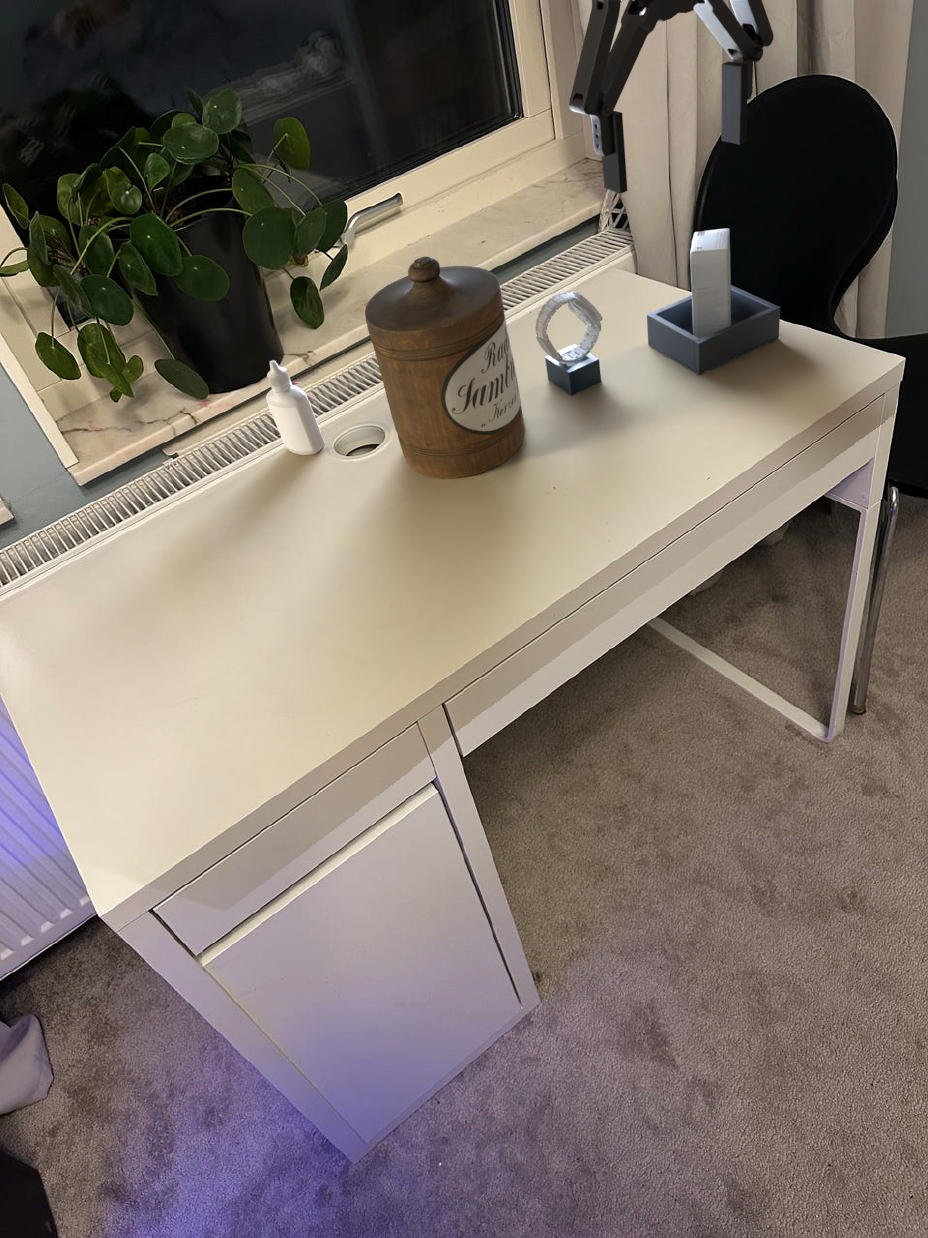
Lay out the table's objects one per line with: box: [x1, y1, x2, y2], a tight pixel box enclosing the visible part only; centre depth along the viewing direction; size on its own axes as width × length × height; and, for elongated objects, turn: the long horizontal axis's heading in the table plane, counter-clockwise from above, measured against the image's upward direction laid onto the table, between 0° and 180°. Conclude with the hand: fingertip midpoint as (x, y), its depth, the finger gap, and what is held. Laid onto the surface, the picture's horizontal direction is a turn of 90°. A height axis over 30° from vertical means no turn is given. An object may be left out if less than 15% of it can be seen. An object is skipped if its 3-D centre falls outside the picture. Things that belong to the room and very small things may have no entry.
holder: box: [646, 284, 781, 376], centre depth 104 cm, size 11×12×4 cm
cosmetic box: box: [689, 228, 732, 339], centre depth 101 cm, size 6×4×12 cm
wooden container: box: [364, 256, 526, 479], centre depth 93 cm, size 15×15×22 cm
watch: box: [535, 290, 603, 396], centre depth 102 cm, size 6×8×11 cm
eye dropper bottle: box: [265, 359, 326, 456], centre depth 103 cm, size 4×6×12 cm
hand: (675, 165), depth 80 cm, fingers open, 13 cm apart
